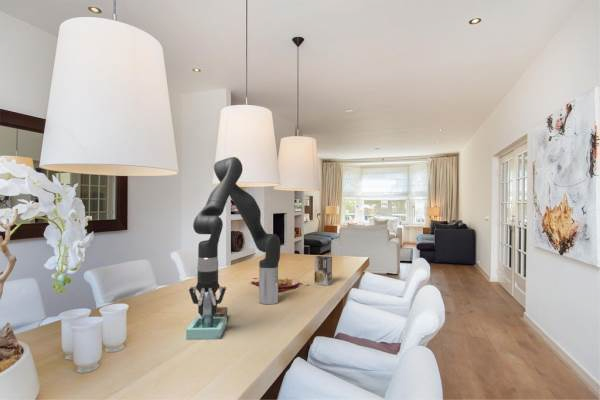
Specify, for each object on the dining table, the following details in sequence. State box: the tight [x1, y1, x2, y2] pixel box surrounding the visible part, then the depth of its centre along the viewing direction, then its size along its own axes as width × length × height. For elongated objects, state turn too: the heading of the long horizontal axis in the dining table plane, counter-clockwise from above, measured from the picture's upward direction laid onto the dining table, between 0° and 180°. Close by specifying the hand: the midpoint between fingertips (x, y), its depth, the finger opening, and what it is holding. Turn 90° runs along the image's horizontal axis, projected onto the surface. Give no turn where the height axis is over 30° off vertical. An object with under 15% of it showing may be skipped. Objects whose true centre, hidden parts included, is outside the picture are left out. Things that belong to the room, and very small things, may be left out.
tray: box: [185, 316, 228, 341], centre depth 127 cm, size 12×13×4 cm
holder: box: [200, 306, 228, 318], centre depth 140 cm, size 9×9×4 cm
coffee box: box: [313, 255, 333, 287], centre depth 204 cm, size 9×6×16 cm
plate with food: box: [250, 277, 310, 292], centre depth 201 cm, size 25×26×4 cm
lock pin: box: [202, 291, 213, 328], centre depth 127 cm, size 4×4×14 cm
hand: (207, 314), depth 127 cm, fingers closed on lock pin, 4 cm apart
